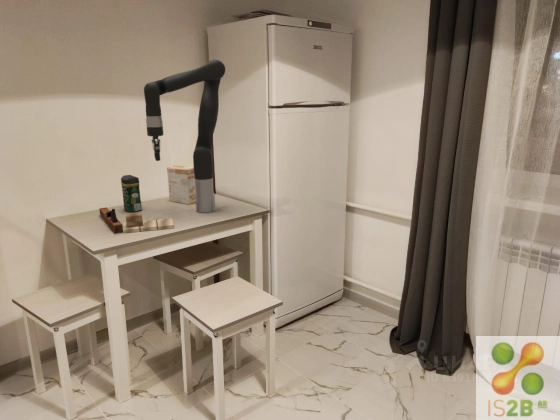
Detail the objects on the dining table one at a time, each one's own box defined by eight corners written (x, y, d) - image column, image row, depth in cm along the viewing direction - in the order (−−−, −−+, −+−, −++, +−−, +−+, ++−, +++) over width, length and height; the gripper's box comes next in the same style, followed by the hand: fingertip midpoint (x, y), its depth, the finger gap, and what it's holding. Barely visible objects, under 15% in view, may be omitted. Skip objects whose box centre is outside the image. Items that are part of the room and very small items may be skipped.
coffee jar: (121, 209, 232) (118, 175, 227) (136, 207, 237) (133, 173, 232) (129, 213, 225) (125, 177, 220) (144, 210, 230) (140, 175, 225)
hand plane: (127, 232, 197) (124, 210, 194) (115, 234, 194) (112, 212, 191) (107, 214, 224) (105, 195, 221) (96, 216, 221) (94, 197, 219)
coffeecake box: (197, 201, 247) (195, 167, 242) (188, 204, 241) (186, 169, 236) (178, 198, 255) (175, 165, 249) (169, 201, 249) (166, 167, 244)
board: (172, 221, 211) (172, 218, 211) (174, 228, 201) (174, 225, 201) (123, 225, 205) (123, 222, 205) (123, 233, 195) (123, 229, 194)
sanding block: (142, 223, 204) (141, 212, 203) (143, 225, 200) (142, 215, 199) (126, 224, 202) (125, 214, 201) (126, 227, 198) (125, 216, 197)
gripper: (163, 126, 206) (166, 161, 210) (161, 124, 219) (164, 156, 223) (147, 127, 203) (150, 162, 208) (146, 124, 216) (149, 157, 221)
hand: (157, 159), depth 215 cm, fingers open, 8 cm apart
